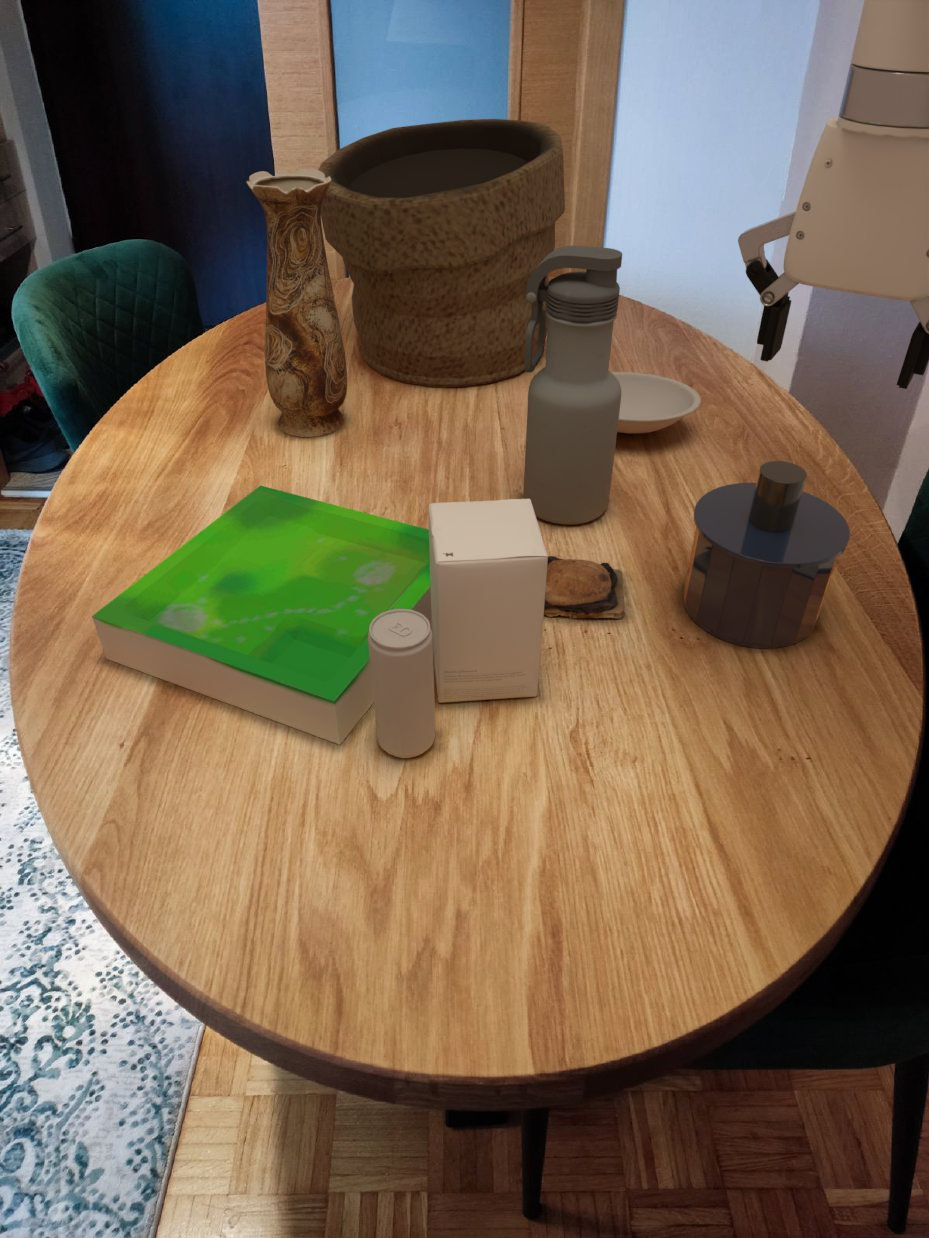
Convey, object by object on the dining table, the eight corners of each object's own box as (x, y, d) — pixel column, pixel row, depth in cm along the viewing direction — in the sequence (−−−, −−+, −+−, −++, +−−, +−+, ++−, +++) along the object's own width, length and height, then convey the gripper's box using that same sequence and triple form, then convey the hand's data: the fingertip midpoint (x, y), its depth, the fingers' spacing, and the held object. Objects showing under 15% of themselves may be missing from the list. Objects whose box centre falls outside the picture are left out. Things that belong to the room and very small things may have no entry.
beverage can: (402, 711, 75) (395, 599, 68) (447, 735, 73) (445, 622, 65) (365, 744, 72) (353, 632, 65) (411, 770, 70) (404, 657, 62)
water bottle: (509, 518, 99) (519, 261, 81) (531, 477, 106) (544, 233, 89) (598, 534, 96) (628, 272, 79) (615, 490, 104) (645, 242, 86)
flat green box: (266, 524, 98) (260, 485, 95) (469, 581, 90) (469, 540, 86) (106, 658, 80) (91, 616, 77) (340, 744, 72) (334, 700, 69)
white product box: (540, 699, 76) (551, 557, 67) (437, 705, 76) (433, 563, 66) (525, 632, 83) (533, 495, 74) (431, 638, 83) (426, 500, 73)
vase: (262, 415, 119) (224, 173, 100) (335, 398, 123) (312, 163, 105) (290, 447, 112) (255, 193, 93) (366, 428, 116) (347, 181, 98)
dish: (557, 452, 111) (560, 416, 108) (560, 403, 122) (563, 368, 119) (699, 460, 109) (706, 423, 106) (689, 409, 120) (695, 375, 117)
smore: (622, 573, 91) (626, 543, 89) (624, 624, 84) (628, 593, 82) (519, 566, 92) (521, 536, 90) (513, 616, 85) (515, 585, 83)
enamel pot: (829, 593, 88) (855, 512, 82) (797, 665, 80) (823, 581, 74) (707, 556, 93) (724, 477, 87) (664, 620, 85) (679, 538, 79)
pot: (368, 304, 153) (354, 107, 134) (567, 317, 148) (582, 114, 129) (300, 387, 126) (271, 156, 108) (540, 407, 121) (553, 168, 102)
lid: (861, 516, 83) (880, 458, 79) (826, 592, 73) (846, 530, 70) (719, 479, 88) (730, 423, 84) (670, 545, 79) (681, 485, 75)
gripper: (1069, 103, 53) (970, 374, 64) (782, 84, 60) (736, 331, 71) (1061, 122, 48) (955, 413, 59) (749, 99, 55) (704, 362, 66)
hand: (835, 368), depth 65 cm, fingers open, 9 cm apart
